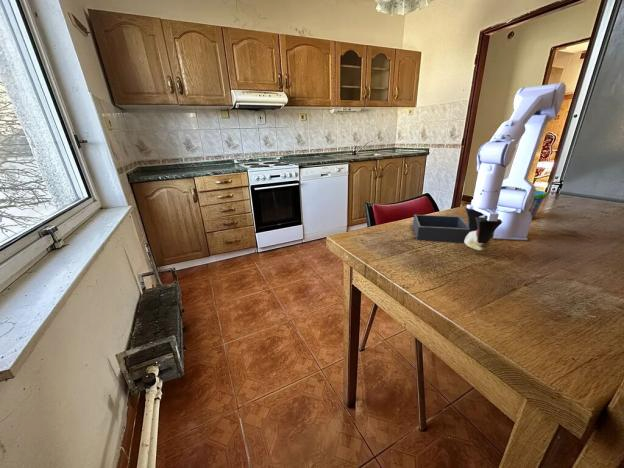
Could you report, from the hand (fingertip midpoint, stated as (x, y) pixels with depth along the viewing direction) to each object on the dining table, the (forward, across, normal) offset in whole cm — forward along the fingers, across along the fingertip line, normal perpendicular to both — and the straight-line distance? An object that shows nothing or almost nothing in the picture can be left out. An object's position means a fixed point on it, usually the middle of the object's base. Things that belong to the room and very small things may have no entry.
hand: (477, 237), depth 73 cm
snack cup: (+5, -39, +28) cm, 48 cm away
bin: (+5, -14, -7) cm, 16 cm away
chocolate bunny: (+3, 0, 0) cm, 3 cm away
